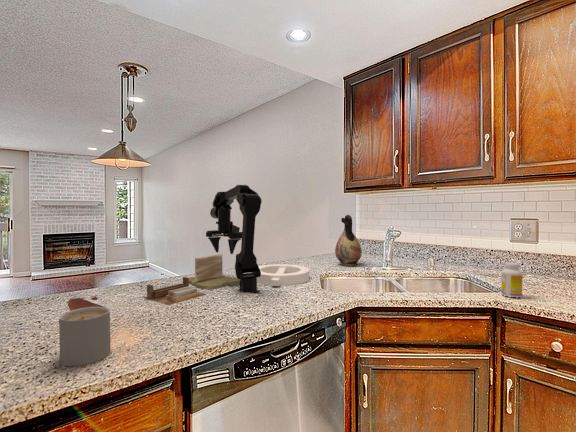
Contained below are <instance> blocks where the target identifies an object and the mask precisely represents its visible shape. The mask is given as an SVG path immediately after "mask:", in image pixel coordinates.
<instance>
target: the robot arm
mask: <svg viewBox="0 0 576 432" xmlns="http://www.w3.org/2000/svg"><path fill="white" fill-rule="evenodd" d="M235 200H236V202H237V203H238V206H239V211H240V212H241V213H240V214H242V228H240V227H239V226H237V225H234V223H233V221H231V216H232V214H231V212H232V210H233V208H232V206H231V205H232V204H233V203H234V201H235ZM262 201H263V200H262V198H261V196H260V195H259V193H258V192H257V191H255V190H254V189H251V187H250V186H249V185H247V184H237V185H235V186H234V187H233V188H229V190H226V191H217V192H216V194H215V196H214V198H213V201H212V208H210V211H209V215H210V217H212V218H213V219H216V220H217V221H215V224H216V225H217V230H216V229H213V230H212V229H211V230H207V231H206V233H205V237H207V239H208V240H209V241H210V243H211V244H212V247H213V249H214V251H215V253H219V250H220V240H221V238H222V237H228V239H227V243H228V248H229V253H230V255H233V254H234V251H235V249H236V246H237V244H238V242H239V241H241V245H240V247H241V248H240V251H239V253H237V254H236V255H235V261H234V262H235V263H234V271H235V278H236V279H240V285H239V291H240V292H243V293H251V294H256V293H257V294H258V293H260V290H258V283H257V277H260V276H261V271H260V269H259V267H258V266H259V265H258V263H257V261H258V259H257V257H256V254H255V253H254V242H255V231H256V230H255V229H256V218H257V215H259V212H260V211H261V207H262V206H261V205H262ZM240 229H242V230H241V231H240ZM251 272H253V273H251Z"/></svg>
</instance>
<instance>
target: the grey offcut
mask: <svg viewBox="0 0 576 432" xmlns="http://www.w3.org/2000/svg"><path fill="white" fill-rule="evenodd" d="M196 292H198V288H197V287H195V286H190V285H189V286H187V287H183V288H179V289H175V290H171V291H168V295H169V296H173V297H181V296H185V295H189V294H192V293H196Z"/></svg>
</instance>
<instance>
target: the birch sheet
mask: <svg viewBox="0 0 576 432" xmlns="http://www.w3.org/2000/svg"><path fill="white" fill-rule="evenodd" d="M194 258H195V259H194V265H195V266H194V272H195V273H194V275H195V276H194V277H195V282H199V281H203V280H208V279H212V278H217V277H221V276H222V275H223V254H220V253H219V254H214V255H207V256H200V257H194Z"/></svg>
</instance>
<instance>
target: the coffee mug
mask: <svg viewBox="0 0 576 432" xmlns="http://www.w3.org/2000/svg"><path fill="white" fill-rule="evenodd" d="M110 312H111V310H110V308H108V307H106V306H103V307H87V308H80V309H76V310H72V311H71V310H69V311H66V312H64V313H62V314H61V315H59V317H58V319H59V320H58V324H59V326H58V327H59V330H58V331H59V363H60V365H61V366H64V367H65V366H66V367H81V366H87V365H91V364H94V363H97V362H100V361H102V360H103V359H105V358H106V357H108V356H109V355H110V354H111V313H110Z"/></svg>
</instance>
